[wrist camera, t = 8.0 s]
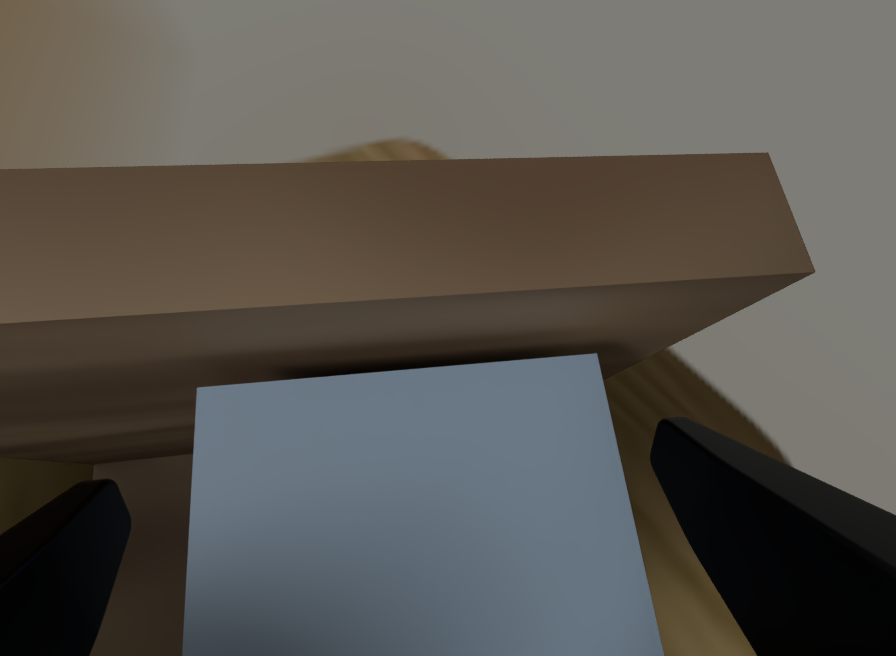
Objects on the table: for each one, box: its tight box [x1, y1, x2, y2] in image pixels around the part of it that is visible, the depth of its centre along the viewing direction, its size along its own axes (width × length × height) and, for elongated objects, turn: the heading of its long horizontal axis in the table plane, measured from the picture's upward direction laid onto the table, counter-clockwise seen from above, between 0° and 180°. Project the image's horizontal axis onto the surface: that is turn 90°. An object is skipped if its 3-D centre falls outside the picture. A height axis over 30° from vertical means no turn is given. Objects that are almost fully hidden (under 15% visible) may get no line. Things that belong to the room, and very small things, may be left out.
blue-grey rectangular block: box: [182, 353, 664, 656], centre depth 10 cm, size 5×5×10 cm
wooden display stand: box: [0, 153, 815, 656], centre depth 9 cm, size 10×14×13 cm
